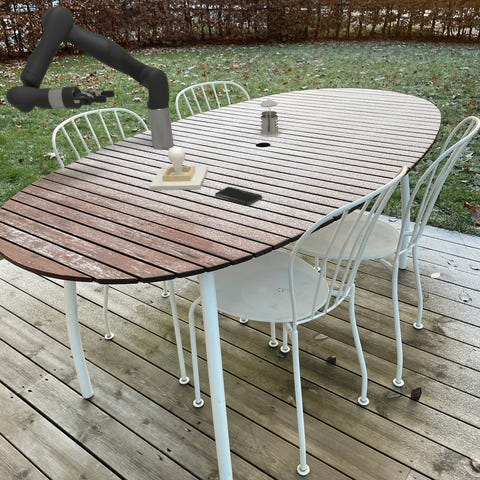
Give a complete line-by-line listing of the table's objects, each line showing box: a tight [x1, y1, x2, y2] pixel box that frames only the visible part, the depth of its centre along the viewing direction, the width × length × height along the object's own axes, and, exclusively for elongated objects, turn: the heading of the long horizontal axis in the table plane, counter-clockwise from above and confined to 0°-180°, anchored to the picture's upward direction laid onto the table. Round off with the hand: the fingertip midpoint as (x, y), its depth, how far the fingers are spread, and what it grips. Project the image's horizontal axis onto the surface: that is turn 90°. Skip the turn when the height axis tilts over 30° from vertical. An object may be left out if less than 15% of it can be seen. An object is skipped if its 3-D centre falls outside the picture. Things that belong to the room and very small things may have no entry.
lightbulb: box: [167, 146, 186, 175], centre depth 169 cm, size 6×6×11 cm
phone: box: [214, 186, 263, 206], centre depth 156 cm, size 8×1×15 cm
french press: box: [258, 77, 281, 138], centre depth 212 cm, size 10×12×25 cm
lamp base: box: [148, 165, 209, 191], centre depth 172 cm, size 18×18×4 cm
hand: (110, 96), depth 164 cm, fingers open, 8 cm apart
